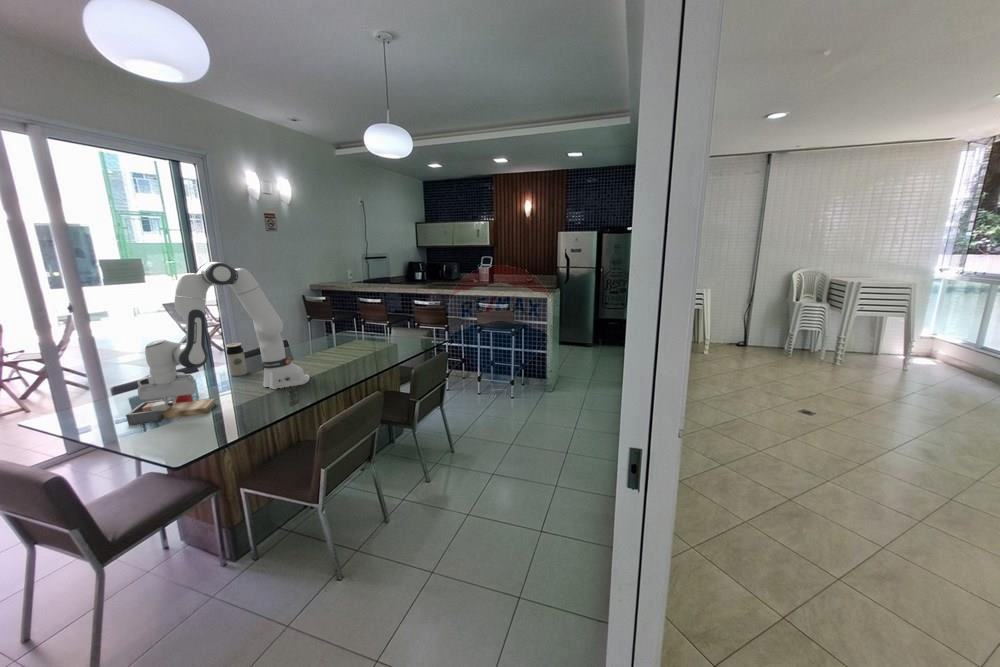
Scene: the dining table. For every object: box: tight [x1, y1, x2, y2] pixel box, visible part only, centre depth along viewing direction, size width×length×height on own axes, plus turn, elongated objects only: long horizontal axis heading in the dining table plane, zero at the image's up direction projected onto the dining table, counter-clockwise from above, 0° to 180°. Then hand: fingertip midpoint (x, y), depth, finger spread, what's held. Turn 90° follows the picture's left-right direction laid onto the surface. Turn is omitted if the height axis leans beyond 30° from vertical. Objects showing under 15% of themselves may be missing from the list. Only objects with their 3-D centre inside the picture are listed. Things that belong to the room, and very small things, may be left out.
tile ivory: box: [151, 400, 171, 412], centre depth 171 cm, size 5×5×3 cm
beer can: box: [176, 394, 194, 403], centre depth 183 cm, size 7×7×12 cm
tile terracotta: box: [142, 402, 156, 412], centre depth 171 cm, size 5×5×3 cm
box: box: [125, 398, 173, 427], centre depth 171 cm, size 11×14×5 cm
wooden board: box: [162, 398, 217, 420], centre depth 175 cm, size 16×11×3 cm
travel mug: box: [225, 342, 248, 377], centre depth 221 cm, size 8×8×18 cm
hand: (171, 405), depth 173 cm, fingers closed
